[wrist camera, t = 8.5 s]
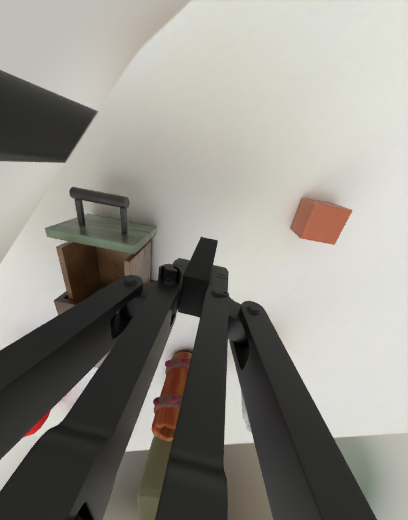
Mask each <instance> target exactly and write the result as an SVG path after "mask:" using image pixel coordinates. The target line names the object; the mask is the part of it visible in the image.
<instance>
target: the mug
mask: <svg viewBox="0 0 408 520" xmlns="http://www.w3.org/2000/svg"><path fill="white" fill-rule="evenodd" d="M191 357H192V353H189V352H184V351H181V352H178V353H176V354H175V356H174V357H173V358H172V359H171V360H170V361H169V360H168V361H166V362H165V366H166V367H167V368H166V371H165V372H166V379H165V382H164V386H163V389H162V392H161V395H160V397H158V398H155V399H154V401H153V403H154V405H155V407H154V413H155V417H154V421H153V424H152V432H153V434H154V435H155V436H156V435H158V438H159V439H163V440H165V441H171V440H173V437H174V433H175V428H176V424H177V419H178V415H179V410H180V406H181V402H182V397H183V393H184V388H185V384H186V379H187V375H188V370H189V366H190V362H191Z"/></svg>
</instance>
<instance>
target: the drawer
mask: <svg viewBox="0 0 408 520" xmlns="http://www.w3.org/2000/svg"><path fill="white" fill-rule="evenodd" d="M70 196H71V197H72V198H74V199H75V205H76V211H77V218H74V219H71V220H68V221H65V222H62V223H59V224H56V225H53V226H50V227H47V228H45V230H46V234H47V237H50V238H55V239H60V240H65V241H68V242H66V243H64V244H62V245H59V246H57V247H56V248H57V253H58V257H59V261H60V265H61V269H62V273H63V277H64V282H65V286H66V290H67V294H68V298H69V300H74V301H78V302H81V301H83V300H85V299H86V298H88V297H90V296H91V295H93V294H95V293H96V292H98V291H99V290H101V289H103V288H104V287H106V286H108V285H109V284H111V283H113V282H114V281H116V280H118V279H119V278H121V277H123V276H127V275H136V276H139V277H141V278H142V280H143V283H150V266H151V242H150V241H149V240H150V239H151V238H152V237H153V236H155V235H156V227H153V226H147V225H142V224H137V223H132V222H127V208H128V206H129V198H128V197H124V196H119V195H114V194H108V193H103V192H98V191H93V190H87V189H82V188H77V187H72V188H71V189H70ZM82 200H84V201H89V202H95V203H100V204H105V205H110V206H115V207H121V208H120V215H121V220H116V219H111V218H106V217H101V216H96V215H91V214H86V215H84V210H83V203H82Z"/></svg>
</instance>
